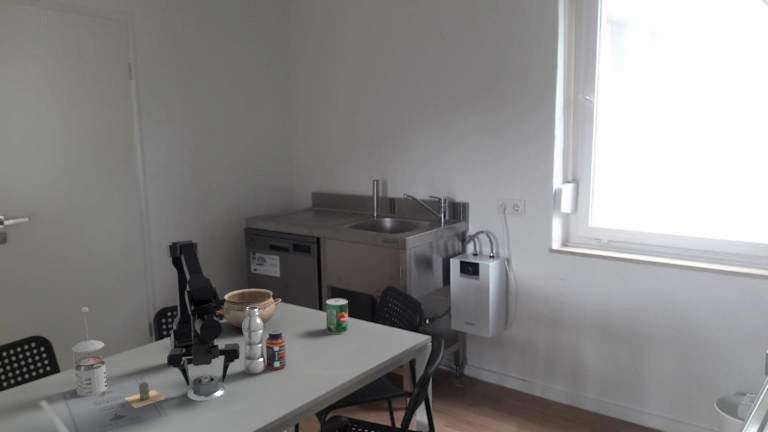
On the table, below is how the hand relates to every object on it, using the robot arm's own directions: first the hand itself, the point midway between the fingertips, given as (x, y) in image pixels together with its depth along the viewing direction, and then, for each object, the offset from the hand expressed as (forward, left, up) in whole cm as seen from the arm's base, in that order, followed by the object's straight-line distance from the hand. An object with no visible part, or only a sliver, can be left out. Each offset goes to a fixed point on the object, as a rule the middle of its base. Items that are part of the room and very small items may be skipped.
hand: (206, 383), depth 164 cm
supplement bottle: (-4, +25, -4) cm, 26 cm away
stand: (-8, -14, -4) cm, 16 cm away
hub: (0, 0, -4) cm, 4 cm away
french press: (-25, -23, -4) cm, 34 cm away
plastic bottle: (-5, +18, -4) cm, 19 cm away
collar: (0, 0, -2) cm, 2 cm away
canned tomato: (-17, +59, -4) cm, 62 cm away
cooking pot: (-43, +38, -4) cm, 58 cm away
